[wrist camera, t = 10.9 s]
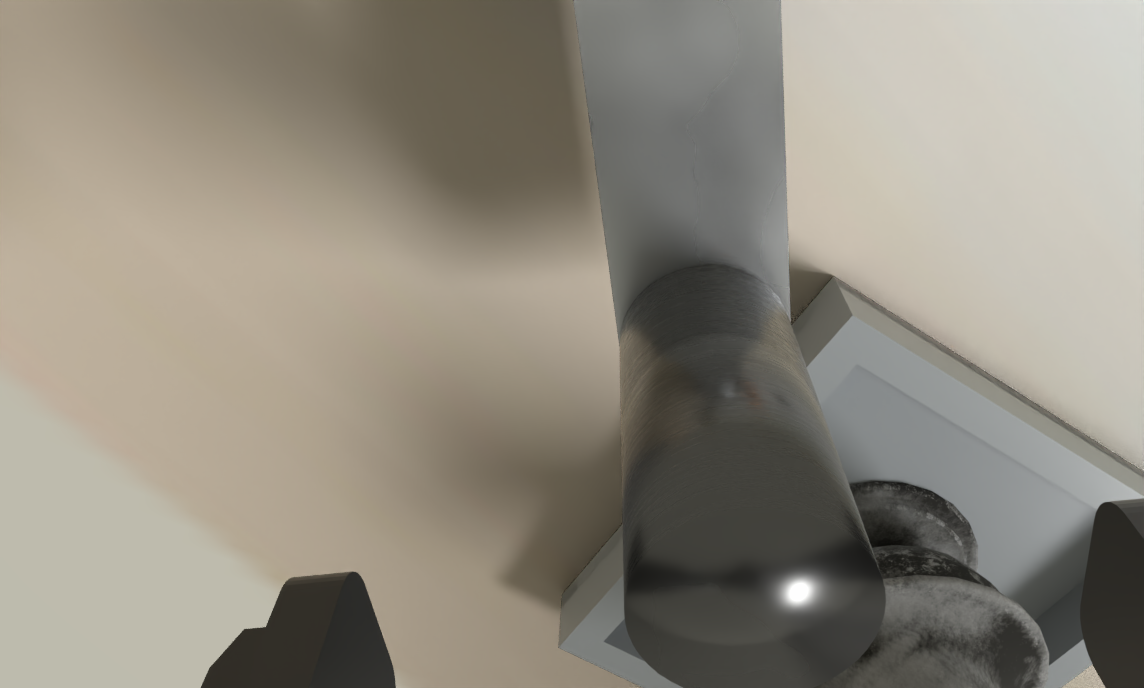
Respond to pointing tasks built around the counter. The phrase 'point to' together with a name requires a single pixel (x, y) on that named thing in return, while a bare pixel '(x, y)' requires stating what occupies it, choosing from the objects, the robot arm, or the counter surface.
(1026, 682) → the dark grey turned piece
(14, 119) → the counter surface
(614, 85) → the crank
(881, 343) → the tray
